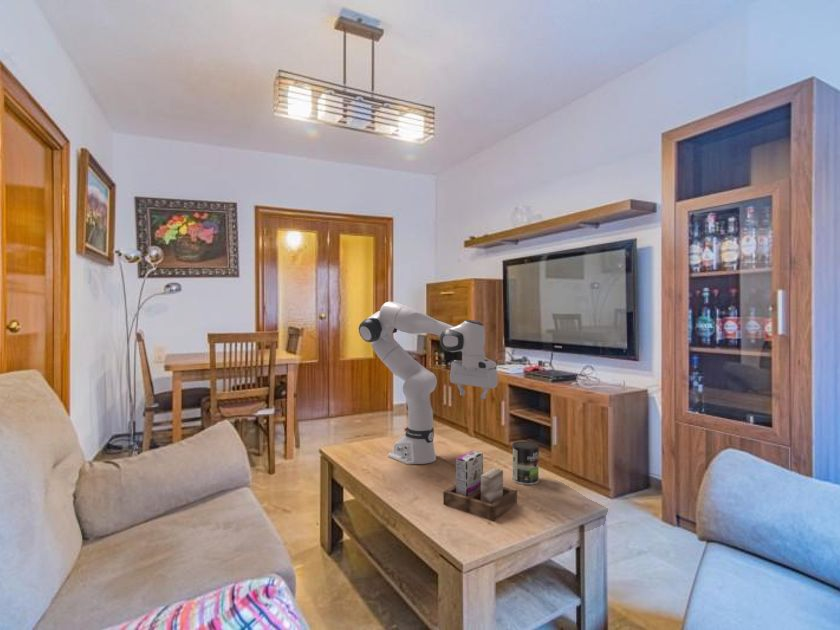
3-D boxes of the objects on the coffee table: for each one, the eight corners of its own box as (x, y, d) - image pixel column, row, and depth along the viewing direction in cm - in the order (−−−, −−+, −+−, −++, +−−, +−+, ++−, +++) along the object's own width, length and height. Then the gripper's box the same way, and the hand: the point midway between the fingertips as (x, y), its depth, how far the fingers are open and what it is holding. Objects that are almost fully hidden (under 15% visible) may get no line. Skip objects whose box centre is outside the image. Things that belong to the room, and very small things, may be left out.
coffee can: (544, 481, 184) (544, 445, 183) (526, 487, 178) (526, 450, 177) (524, 473, 192) (524, 439, 192) (506, 478, 186) (506, 444, 186)
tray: (443, 504, 162) (443, 470, 162) (468, 489, 176) (468, 457, 175) (494, 520, 150) (494, 484, 150) (516, 503, 163) (517, 469, 163)
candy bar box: (471, 493, 171) (472, 449, 171) (483, 497, 168) (483, 452, 168) (454, 504, 163) (455, 457, 162) (467, 508, 160) (467, 460, 159)
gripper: (446, 360, 186) (446, 394, 186) (492, 365, 173) (491, 402, 174) (455, 358, 191) (454, 392, 191) (500, 363, 178) (499, 399, 179)
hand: (472, 396), depth 182 cm, fingers open, 8 cm apart
